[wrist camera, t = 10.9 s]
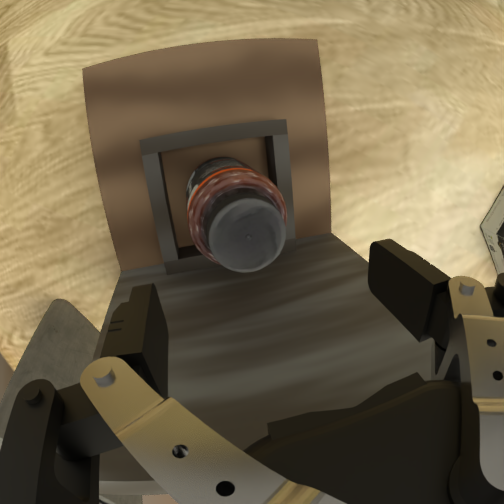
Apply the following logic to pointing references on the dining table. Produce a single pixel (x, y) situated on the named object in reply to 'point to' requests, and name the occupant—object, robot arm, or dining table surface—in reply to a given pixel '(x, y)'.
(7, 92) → the dining table surface
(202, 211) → the supplement bottle
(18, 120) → the dining table surface
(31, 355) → the hip flask
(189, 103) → the wall board holder
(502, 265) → the tea box
